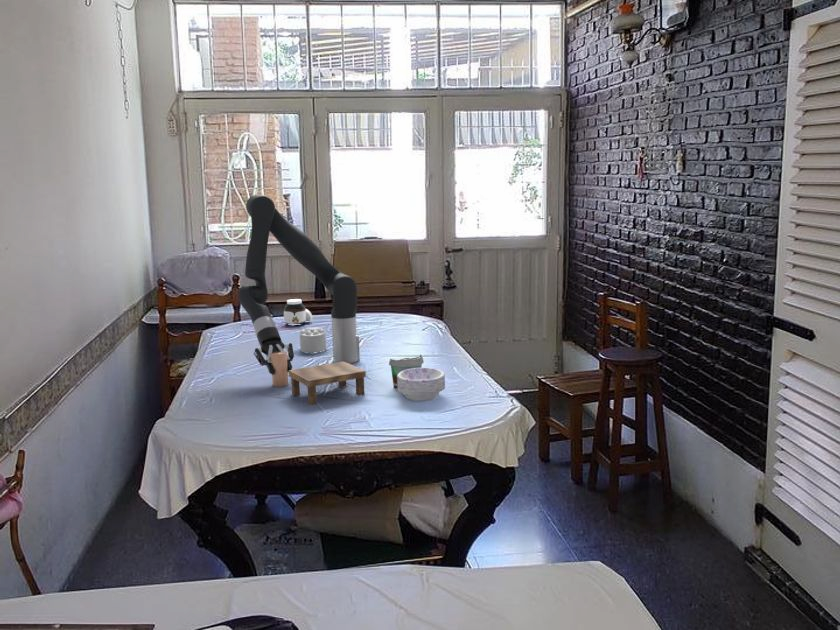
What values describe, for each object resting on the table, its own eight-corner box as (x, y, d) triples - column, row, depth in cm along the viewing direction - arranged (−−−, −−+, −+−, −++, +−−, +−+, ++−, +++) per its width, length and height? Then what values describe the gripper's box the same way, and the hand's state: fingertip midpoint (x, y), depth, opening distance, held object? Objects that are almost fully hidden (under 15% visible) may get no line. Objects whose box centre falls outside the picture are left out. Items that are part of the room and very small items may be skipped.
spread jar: (282, 326, 378) (281, 301, 376) (290, 321, 389) (289, 297, 387) (307, 326, 376) (306, 301, 374) (314, 321, 387) (313, 297, 385)
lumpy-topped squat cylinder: (326, 345, 336) (325, 325, 334) (326, 353, 323) (324, 331, 321) (301, 347, 335) (300, 326, 333) (299, 354, 322) (298, 332, 320)
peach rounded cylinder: (284, 381, 282) (283, 350, 280) (291, 384, 278) (289, 353, 276) (270, 383, 279) (268, 352, 277) (276, 387, 275) (274, 355, 273)
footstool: (344, 384, 277) (343, 361, 275) (366, 394, 263) (365, 370, 262) (289, 393, 267) (288, 370, 265) (310, 405, 253) (308, 380, 252)
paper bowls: (408, 406, 249) (408, 382, 248) (390, 394, 263) (390, 370, 262) (453, 400, 255) (452, 375, 254) (433, 388, 269) (432, 365, 268)
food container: (397, 392, 265) (396, 362, 264) (389, 387, 271) (388, 358, 269) (430, 386, 271) (430, 357, 269) (422, 382, 276) (421, 354, 274)
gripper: (249, 328, 277) (264, 369, 270) (288, 323, 285) (304, 363, 277) (245, 341, 283) (259, 381, 275) (283, 335, 290) (298, 374, 282)
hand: (281, 372), depth 276 cm, fingers closed on peach rounded cylinder, 5 cm apart
